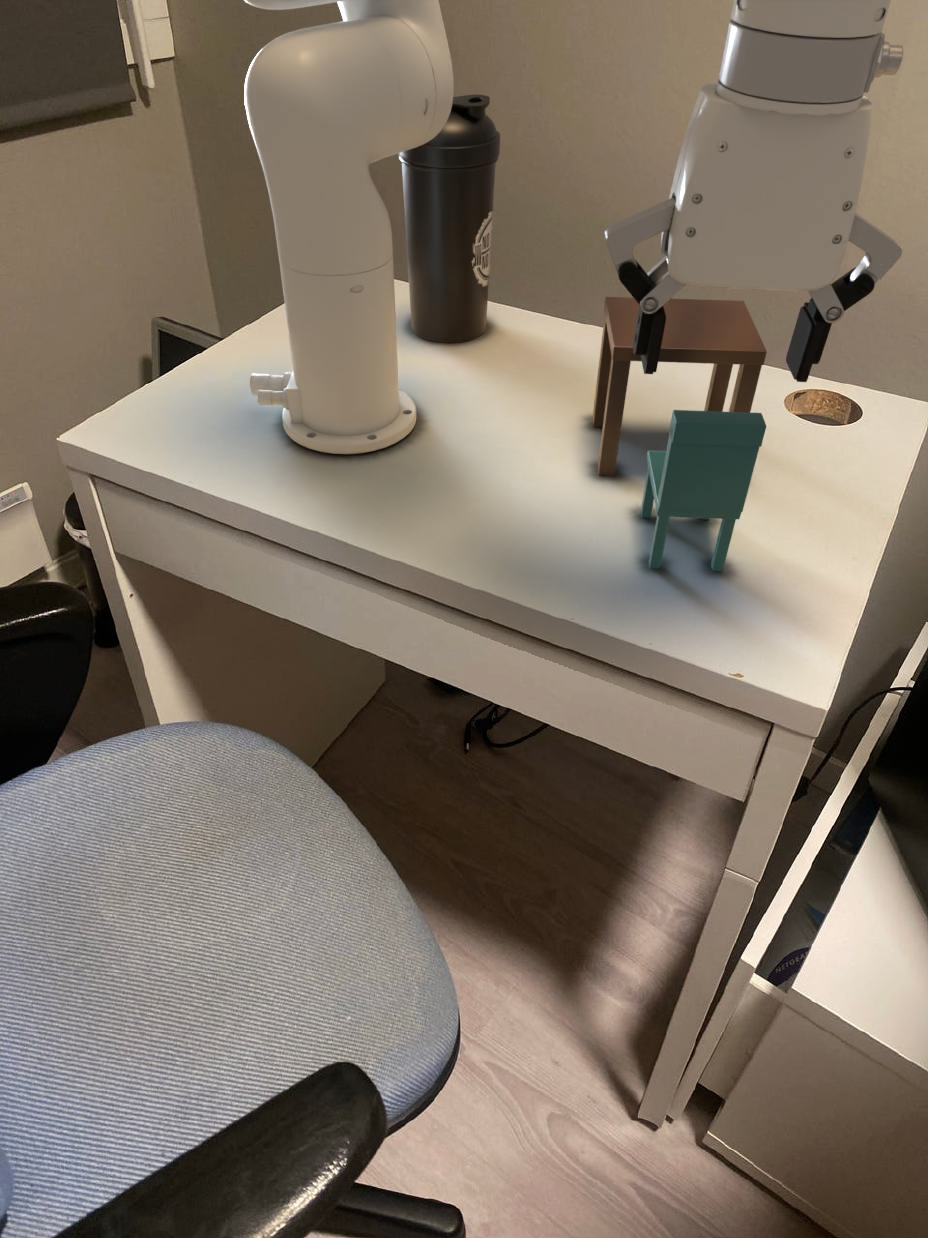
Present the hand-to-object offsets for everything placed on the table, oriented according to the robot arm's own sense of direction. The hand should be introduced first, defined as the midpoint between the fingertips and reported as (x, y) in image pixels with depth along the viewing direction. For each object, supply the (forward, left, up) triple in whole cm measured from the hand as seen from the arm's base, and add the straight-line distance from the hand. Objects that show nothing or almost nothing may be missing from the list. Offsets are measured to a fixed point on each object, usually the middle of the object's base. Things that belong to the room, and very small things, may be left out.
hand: (721, 368), depth 59 cm
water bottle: (-21, +42, -17) cm, 50 cm away
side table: (0, +17, -16) cm, 24 cm away
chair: (0, +3, -16) cm, 17 cm away
